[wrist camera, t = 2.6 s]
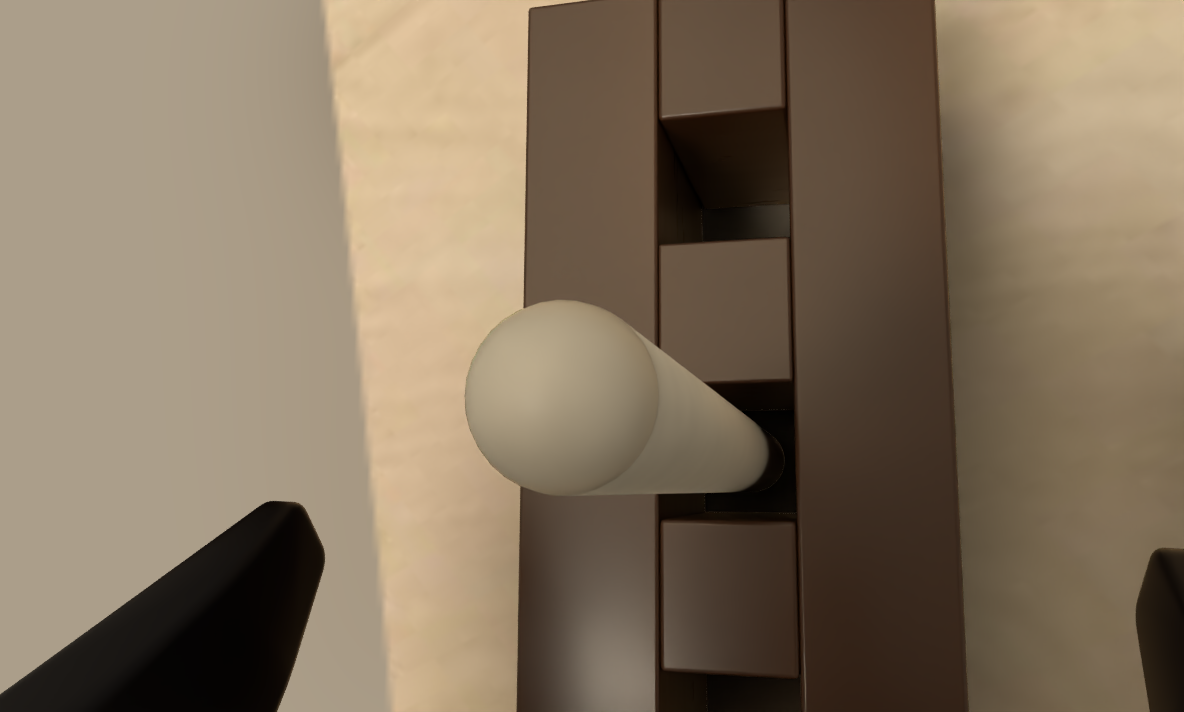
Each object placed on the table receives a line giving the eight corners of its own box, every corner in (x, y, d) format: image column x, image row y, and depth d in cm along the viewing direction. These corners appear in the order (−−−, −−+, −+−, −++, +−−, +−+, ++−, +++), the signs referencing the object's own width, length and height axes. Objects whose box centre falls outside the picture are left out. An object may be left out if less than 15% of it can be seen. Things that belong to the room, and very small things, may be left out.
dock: (910, 89, 19) (933, -47, 14) (944, 877, 17) (984, 1032, 12) (601, 119, 20) (527, 6, 16) (597, 840, 18) (510, 964, 14)
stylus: (786, 491, 18) (637, 497, 5) (725, 491, 19) (428, 496, 5) (785, 430, 19) (637, 275, 5) (724, 431, 19) (434, 285, 5)
